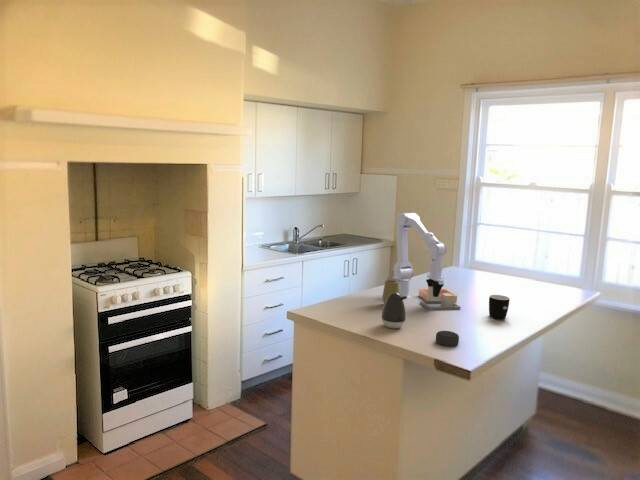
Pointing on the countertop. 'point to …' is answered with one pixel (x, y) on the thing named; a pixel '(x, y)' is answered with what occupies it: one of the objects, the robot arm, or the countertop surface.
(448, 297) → the stone right
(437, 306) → the stone tray
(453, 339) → the smart speaker
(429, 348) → the countertop surface
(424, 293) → the bin
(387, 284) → the squeeze bottle
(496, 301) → the mug
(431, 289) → the block
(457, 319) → the countertop surface
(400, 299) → the pump dispenser
